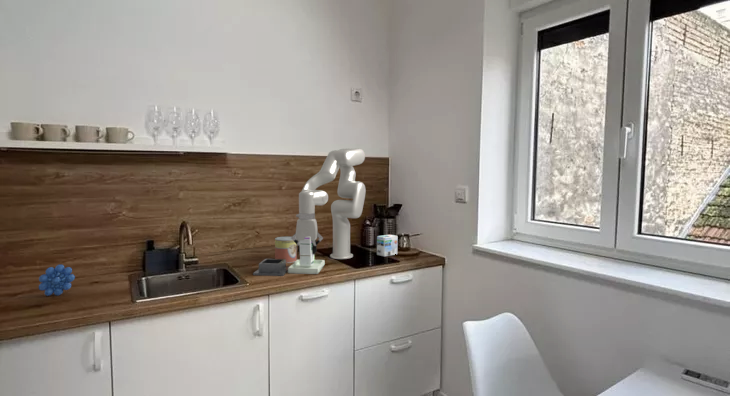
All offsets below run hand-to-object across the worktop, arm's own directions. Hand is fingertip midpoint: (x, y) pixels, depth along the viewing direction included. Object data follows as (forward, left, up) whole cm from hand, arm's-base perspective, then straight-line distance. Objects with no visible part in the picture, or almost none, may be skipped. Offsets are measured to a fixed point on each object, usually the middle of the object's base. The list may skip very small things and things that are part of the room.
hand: (307, 253), depth 200 cm
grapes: (+49, -87, -8) cm, 100 cm away
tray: (0, 0, -8) cm, 8 cm away
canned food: (-16, -15, -8) cm, 23 cm away
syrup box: (0, 0, -6) cm, 6 cm away
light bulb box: (-37, +38, -8) cm, 53 cm away
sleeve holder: (+7, -15, -8) cm, 18 cm away
